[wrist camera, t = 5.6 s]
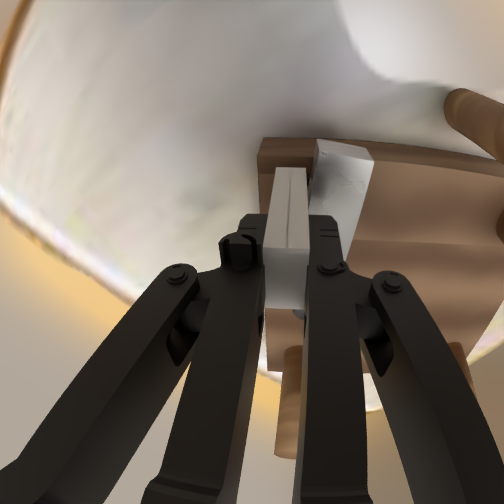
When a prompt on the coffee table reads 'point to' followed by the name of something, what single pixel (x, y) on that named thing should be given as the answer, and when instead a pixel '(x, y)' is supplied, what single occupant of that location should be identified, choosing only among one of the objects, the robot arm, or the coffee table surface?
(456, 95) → the loose leg
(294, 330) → the stool
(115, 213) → the coffee table surface
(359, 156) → the keeper bar
